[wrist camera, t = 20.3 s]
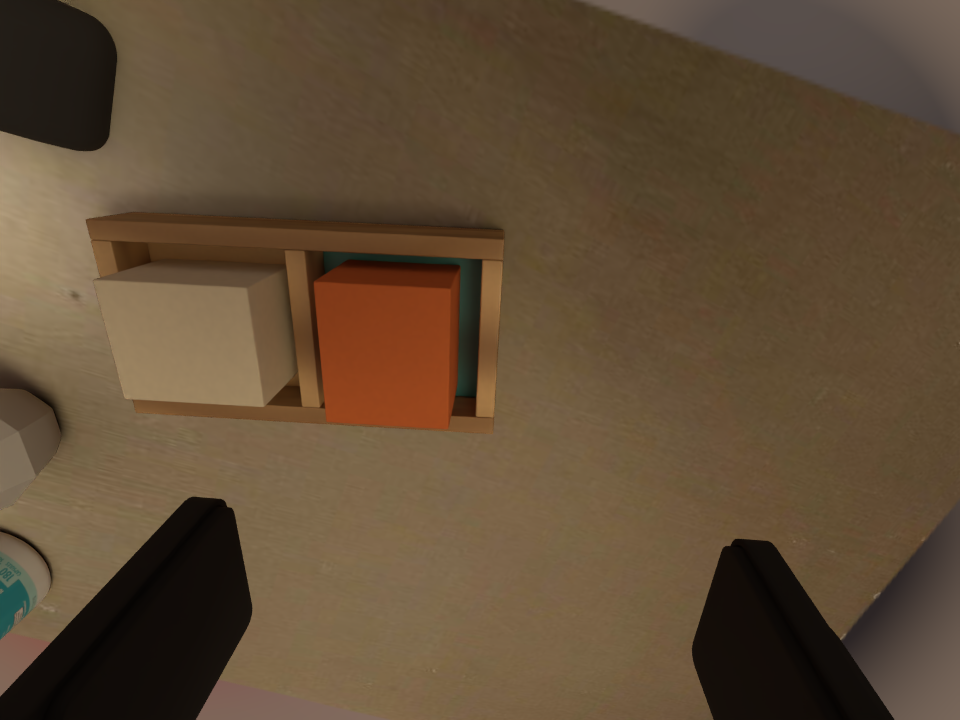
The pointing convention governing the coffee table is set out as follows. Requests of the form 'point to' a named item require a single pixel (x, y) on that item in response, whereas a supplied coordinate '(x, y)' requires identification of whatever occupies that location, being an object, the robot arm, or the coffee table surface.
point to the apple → (24, 441)
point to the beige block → (200, 331)
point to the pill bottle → (20, 581)
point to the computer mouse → (55, 74)
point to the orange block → (389, 342)
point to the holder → (308, 259)
